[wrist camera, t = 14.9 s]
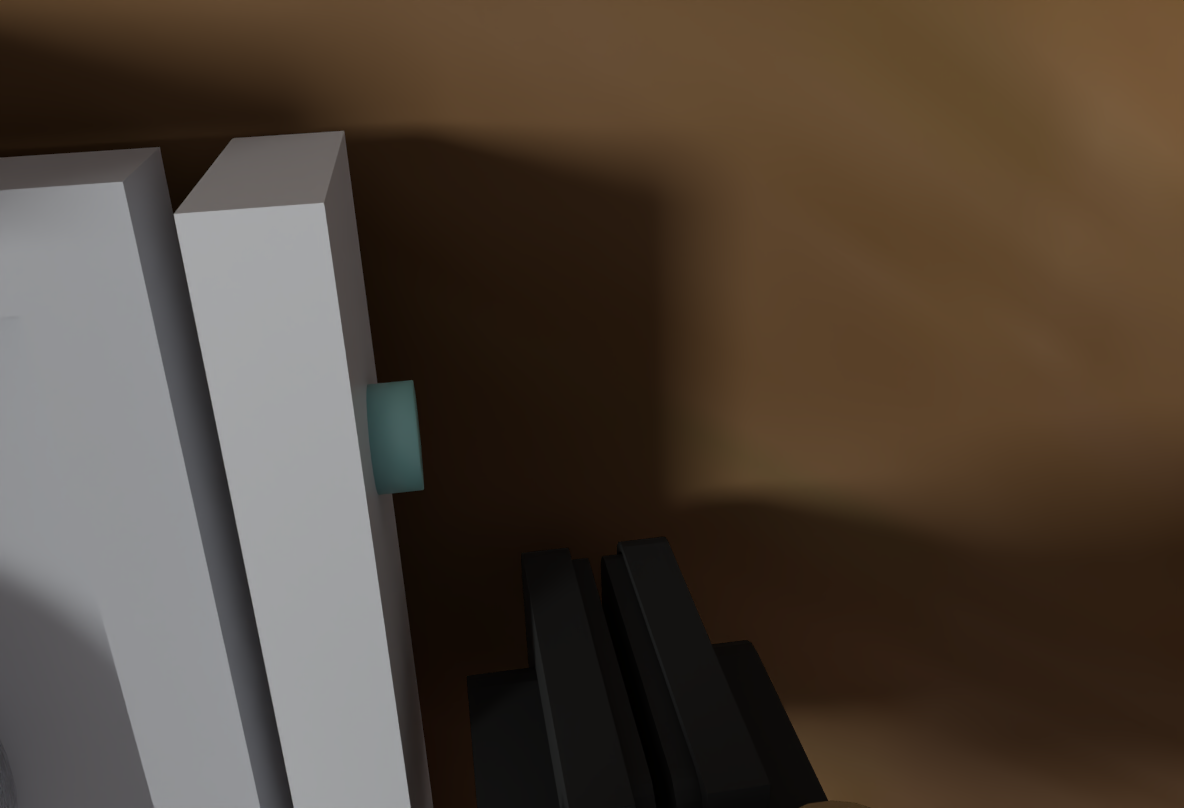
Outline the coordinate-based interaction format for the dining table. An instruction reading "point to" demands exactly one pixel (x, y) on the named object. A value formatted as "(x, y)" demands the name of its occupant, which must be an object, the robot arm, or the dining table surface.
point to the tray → (200, 490)
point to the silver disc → (6, 782)
